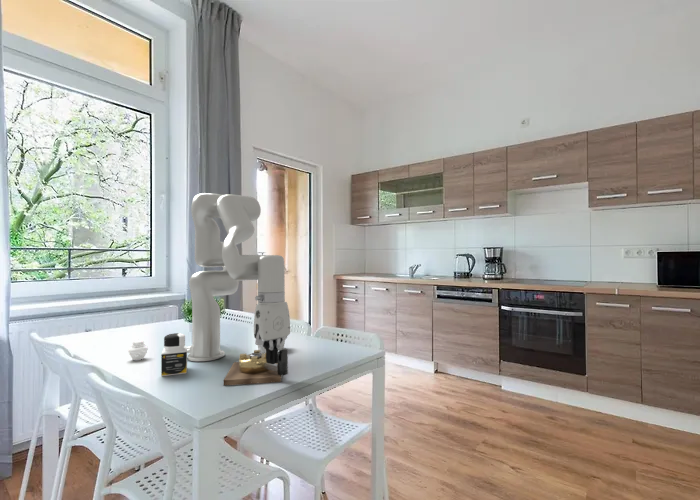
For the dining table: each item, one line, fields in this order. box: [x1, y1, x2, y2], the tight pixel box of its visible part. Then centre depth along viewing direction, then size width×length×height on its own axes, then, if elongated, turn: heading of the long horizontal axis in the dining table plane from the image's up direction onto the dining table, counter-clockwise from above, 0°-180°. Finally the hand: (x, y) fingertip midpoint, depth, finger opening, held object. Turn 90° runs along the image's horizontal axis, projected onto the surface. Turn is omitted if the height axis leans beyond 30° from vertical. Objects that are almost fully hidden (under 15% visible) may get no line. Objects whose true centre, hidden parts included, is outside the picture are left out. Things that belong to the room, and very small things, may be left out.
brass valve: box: [238, 347, 289, 376], centre depth 109 cm, size 18×10×7 cm, turn 54°
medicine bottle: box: [160, 332, 188, 377], centre depth 114 cm, size 7×7×12 cm
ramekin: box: [257, 338, 287, 354], centre depth 139 cm, size 11×11×5 cm
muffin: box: [127, 339, 149, 361], centre depth 129 cm, size 6×6×7 cm
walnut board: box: [223, 361, 283, 386], centre depth 111 cm, size 16×18×2 cm
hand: (272, 362), depth 101 cm, fingers closed
